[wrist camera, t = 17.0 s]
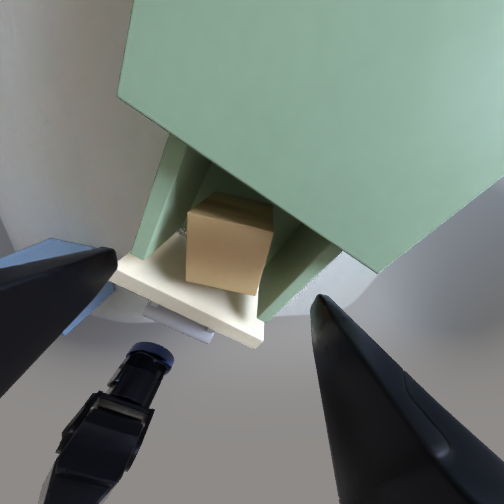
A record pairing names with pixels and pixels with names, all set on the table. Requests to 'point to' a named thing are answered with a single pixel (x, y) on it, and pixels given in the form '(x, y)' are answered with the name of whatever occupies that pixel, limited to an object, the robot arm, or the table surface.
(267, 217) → the block
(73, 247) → the block
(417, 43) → the cabinet
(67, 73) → the table surface
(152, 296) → the drawer
